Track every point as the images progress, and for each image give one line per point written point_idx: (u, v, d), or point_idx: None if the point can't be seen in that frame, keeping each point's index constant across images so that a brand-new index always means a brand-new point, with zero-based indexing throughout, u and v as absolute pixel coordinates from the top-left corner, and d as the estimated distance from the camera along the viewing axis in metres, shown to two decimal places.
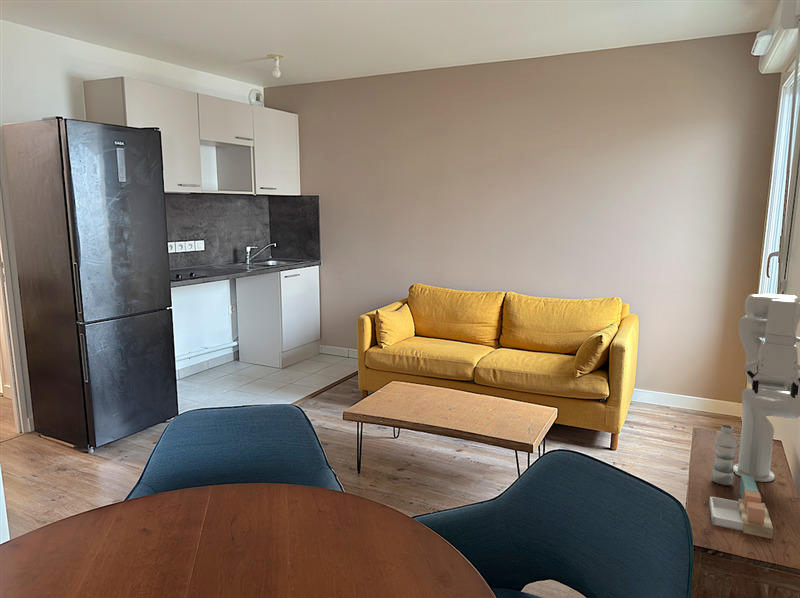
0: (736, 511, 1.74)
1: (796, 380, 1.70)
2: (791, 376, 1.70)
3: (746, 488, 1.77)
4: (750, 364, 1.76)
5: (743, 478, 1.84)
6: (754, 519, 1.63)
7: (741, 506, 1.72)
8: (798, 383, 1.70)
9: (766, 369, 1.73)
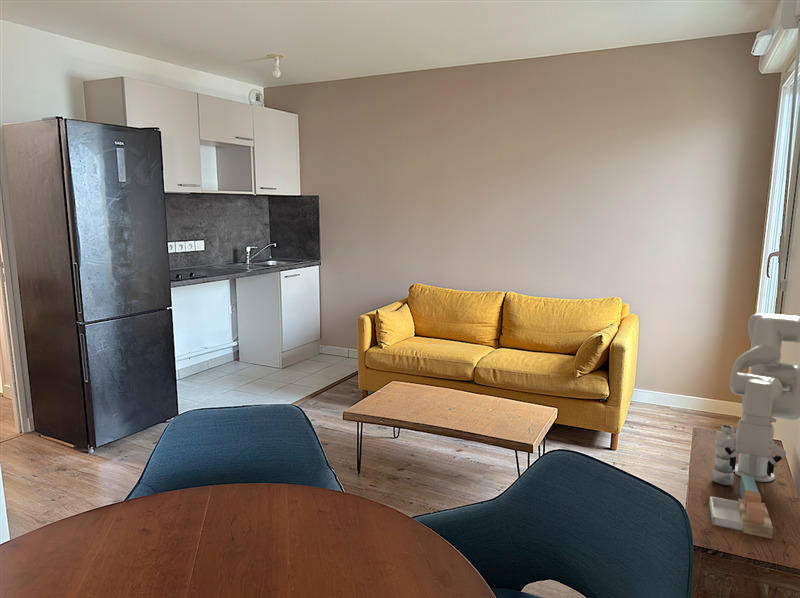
0: (736, 511, 1.74)
1: (771, 459, 1.76)
2: (767, 455, 1.76)
3: (746, 488, 1.77)
4: (728, 441, 1.81)
5: (743, 478, 1.84)
6: (754, 519, 1.63)
7: (741, 506, 1.72)
8: (773, 462, 1.76)
9: (743, 447, 1.78)
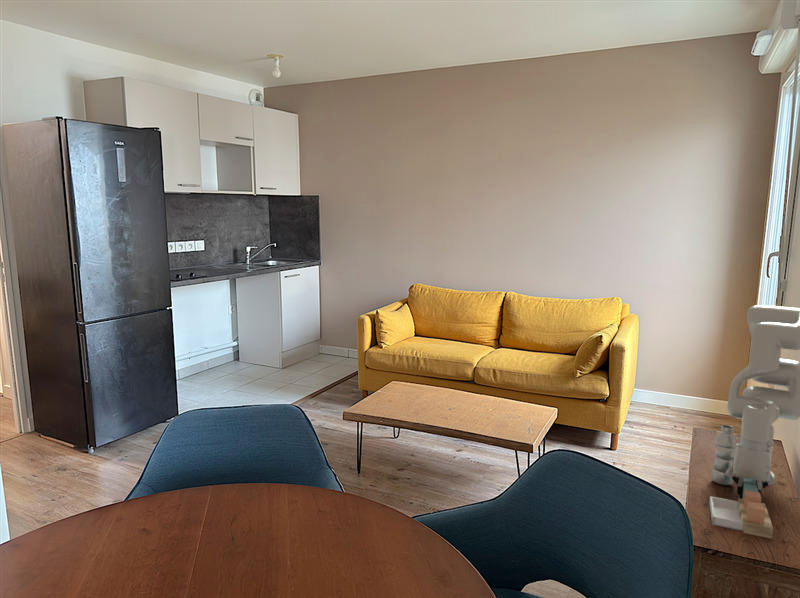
0: (736, 511, 1.74)
1: (760, 485, 1.79)
2: (764, 479, 1.77)
3: (746, 488, 1.77)
4: (730, 470, 1.83)
5: None
6: (754, 519, 1.63)
7: (741, 506, 1.72)
8: (760, 488, 1.79)
9: (740, 471, 1.80)
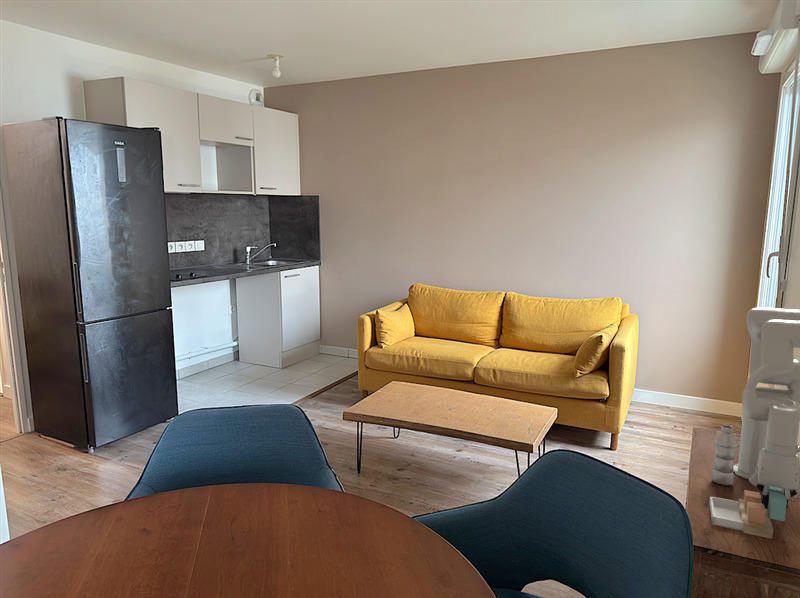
0: (736, 511, 1.74)
1: (788, 494, 1.63)
2: (792, 488, 1.61)
3: (773, 496, 1.61)
4: (754, 477, 1.67)
5: None
6: (754, 519, 1.63)
7: (741, 506, 1.72)
8: (788, 497, 1.63)
9: (766, 479, 1.64)
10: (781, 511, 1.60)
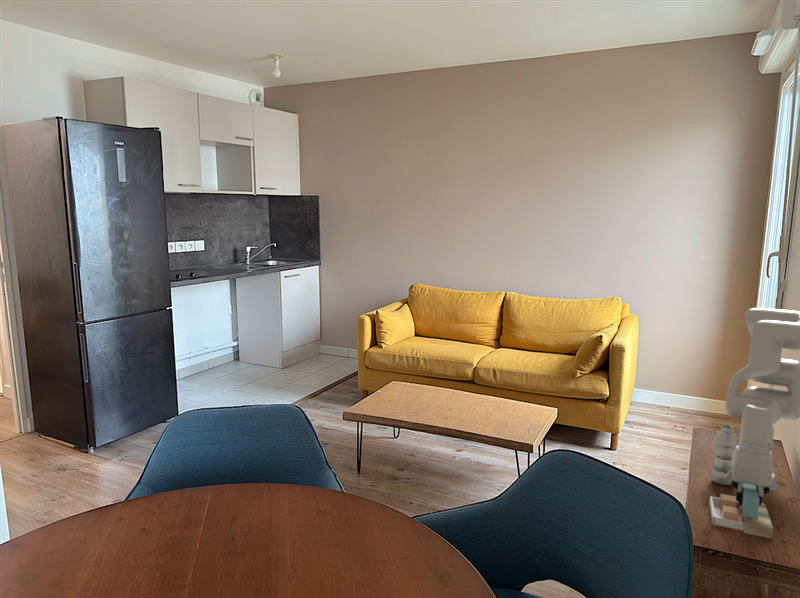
0: None
1: (761, 491, 1.66)
2: (765, 485, 1.64)
3: (746, 494, 1.64)
4: (729, 475, 1.69)
5: None
6: None
7: None
8: (761, 494, 1.66)
9: (740, 476, 1.67)
10: (754, 509, 1.63)
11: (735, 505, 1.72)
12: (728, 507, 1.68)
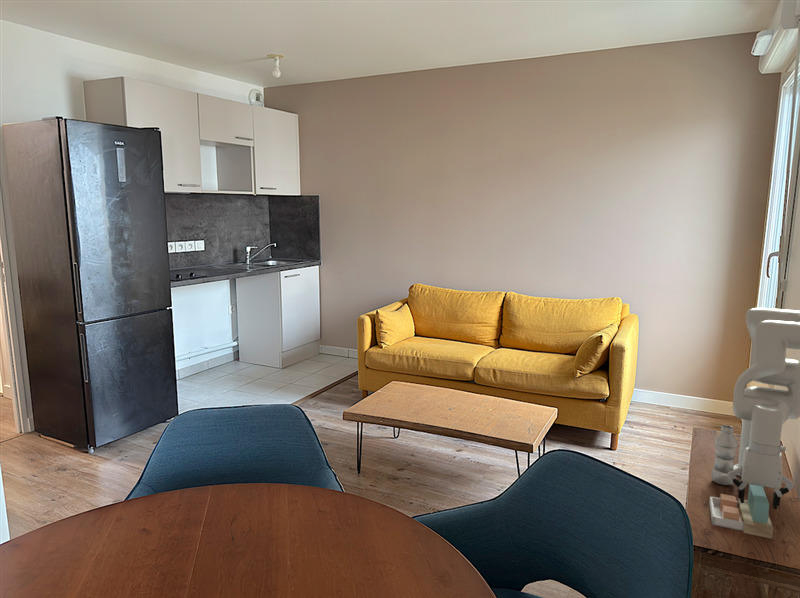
0: None
1: (778, 491, 1.64)
2: (775, 486, 1.63)
3: (755, 499, 1.64)
4: (734, 472, 1.69)
5: (752, 488, 1.70)
6: None
7: (741, 506, 1.72)
8: (780, 495, 1.64)
9: (750, 477, 1.66)
10: (764, 514, 1.62)
11: (735, 505, 1.72)
12: (728, 507, 1.68)
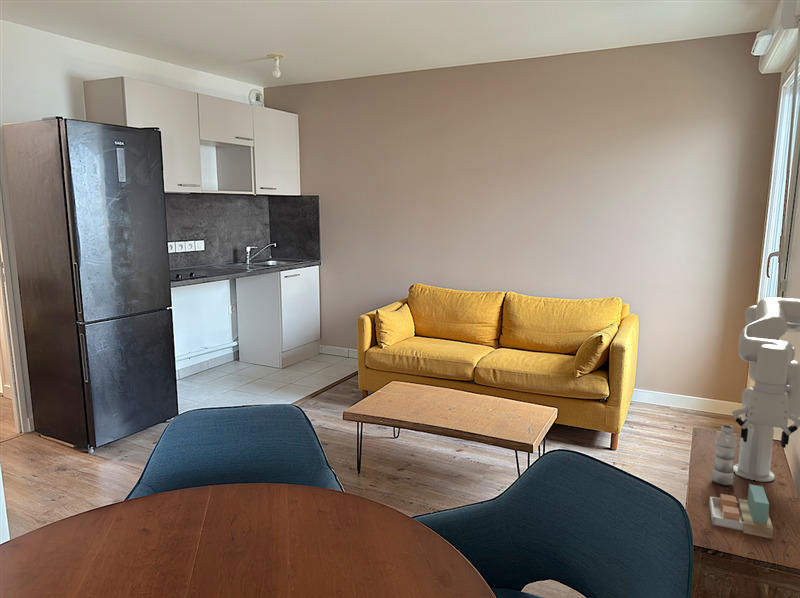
0: None
1: (786, 430, 1.63)
2: (781, 426, 1.63)
3: (755, 499, 1.64)
4: (739, 411, 1.69)
5: (752, 488, 1.70)
6: None
7: (741, 506, 1.72)
8: (788, 433, 1.64)
9: (755, 418, 1.66)
10: (764, 514, 1.62)
11: (735, 505, 1.72)
12: (728, 507, 1.68)
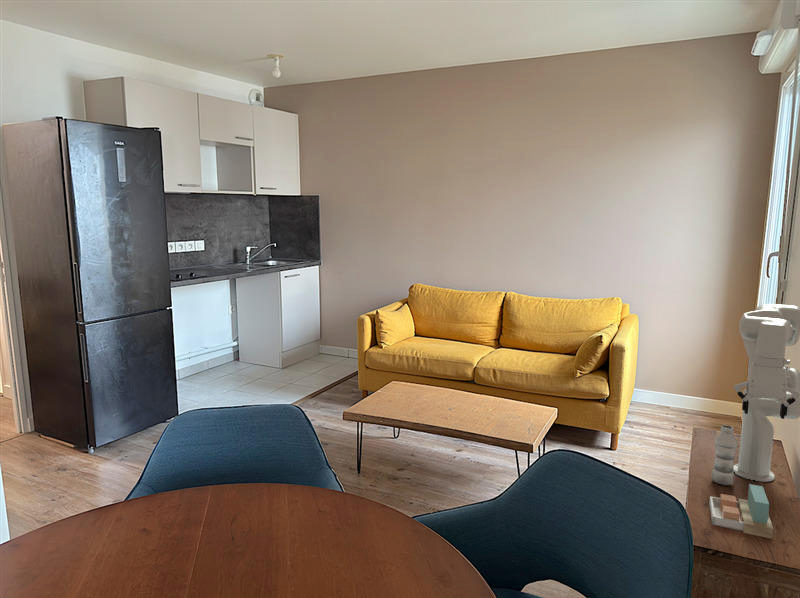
0: None
1: (785, 401, 1.74)
2: (780, 397, 1.74)
3: (755, 499, 1.64)
4: (740, 385, 1.79)
5: (752, 488, 1.70)
6: None
7: (741, 506, 1.72)
8: (787, 404, 1.74)
9: (756, 390, 1.76)
10: (764, 514, 1.62)
11: (735, 505, 1.72)
12: (728, 507, 1.68)
